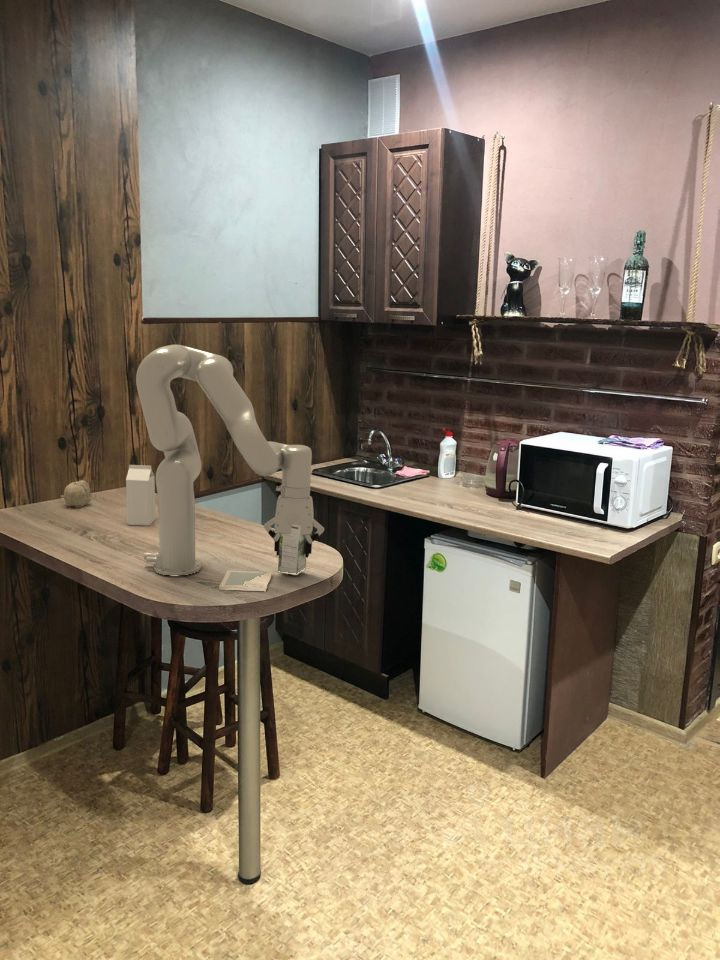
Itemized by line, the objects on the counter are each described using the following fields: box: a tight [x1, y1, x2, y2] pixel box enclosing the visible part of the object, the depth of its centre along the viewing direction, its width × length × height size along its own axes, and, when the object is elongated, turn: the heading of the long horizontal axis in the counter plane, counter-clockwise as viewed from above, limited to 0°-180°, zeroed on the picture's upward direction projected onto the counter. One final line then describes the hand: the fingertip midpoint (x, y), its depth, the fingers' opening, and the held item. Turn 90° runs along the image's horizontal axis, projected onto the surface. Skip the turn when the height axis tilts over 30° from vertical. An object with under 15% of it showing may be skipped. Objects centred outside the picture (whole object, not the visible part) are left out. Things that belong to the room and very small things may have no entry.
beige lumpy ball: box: [60, 480, 92, 508], centre depth 272 cm, size 9×8×10 cm
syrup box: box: [277, 523, 307, 574], centre depth 214 cm, size 6×6×14 cm
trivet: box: [218, 570, 265, 588], centre depth 208 cm, size 12×12×1 cm
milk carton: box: [125, 464, 156, 526], centre depth 255 cm, size 7×7×19 cm
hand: (292, 554), depth 215 cm, fingers closed on syrup box, 7 cm apart
